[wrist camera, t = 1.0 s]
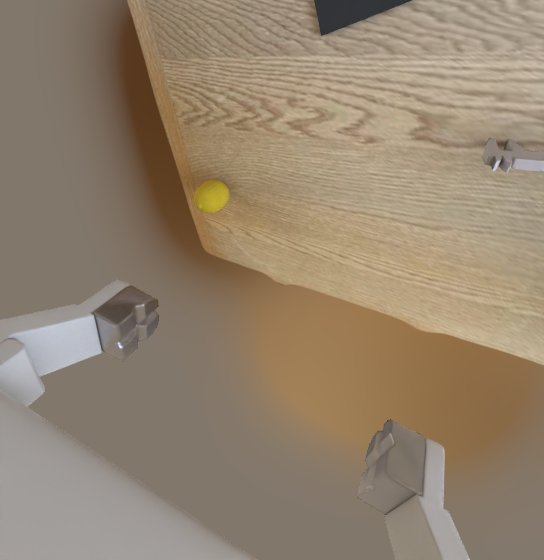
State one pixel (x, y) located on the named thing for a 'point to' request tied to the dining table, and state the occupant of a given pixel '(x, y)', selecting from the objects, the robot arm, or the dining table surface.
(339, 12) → the felt mat
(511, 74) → the dining table surface
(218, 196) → the lemon
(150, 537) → the robot arm
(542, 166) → the caliper
